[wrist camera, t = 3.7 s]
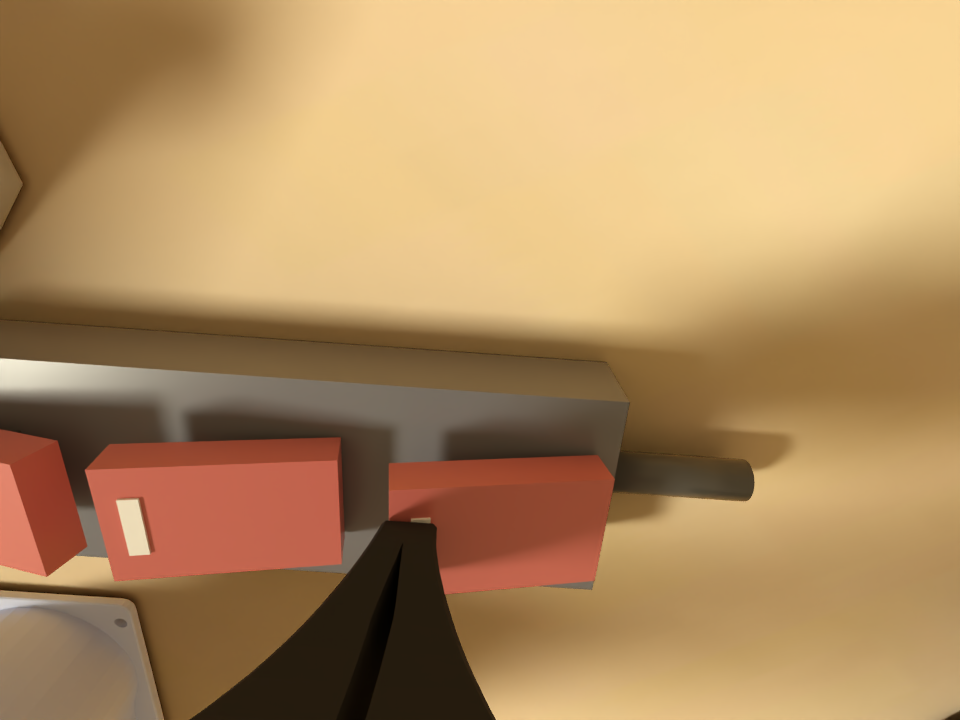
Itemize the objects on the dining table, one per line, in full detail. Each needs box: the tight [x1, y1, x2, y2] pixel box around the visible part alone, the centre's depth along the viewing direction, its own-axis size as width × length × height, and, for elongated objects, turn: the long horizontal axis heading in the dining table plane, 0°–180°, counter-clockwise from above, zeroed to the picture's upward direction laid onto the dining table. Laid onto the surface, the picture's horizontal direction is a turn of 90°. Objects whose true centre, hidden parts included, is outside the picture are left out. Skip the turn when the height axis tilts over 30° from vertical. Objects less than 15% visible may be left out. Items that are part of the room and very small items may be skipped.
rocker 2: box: [85, 437, 345, 581], centre depth 14 cm, size 4×6×1 cm, turn 86°
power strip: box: [0, 320, 754, 590], centre depth 17 cm, size 7×27×3 cm, turn 86°
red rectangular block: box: [389, 455, 615, 594], centre depth 14 cm, size 4×6×1 cm, turn 86°
